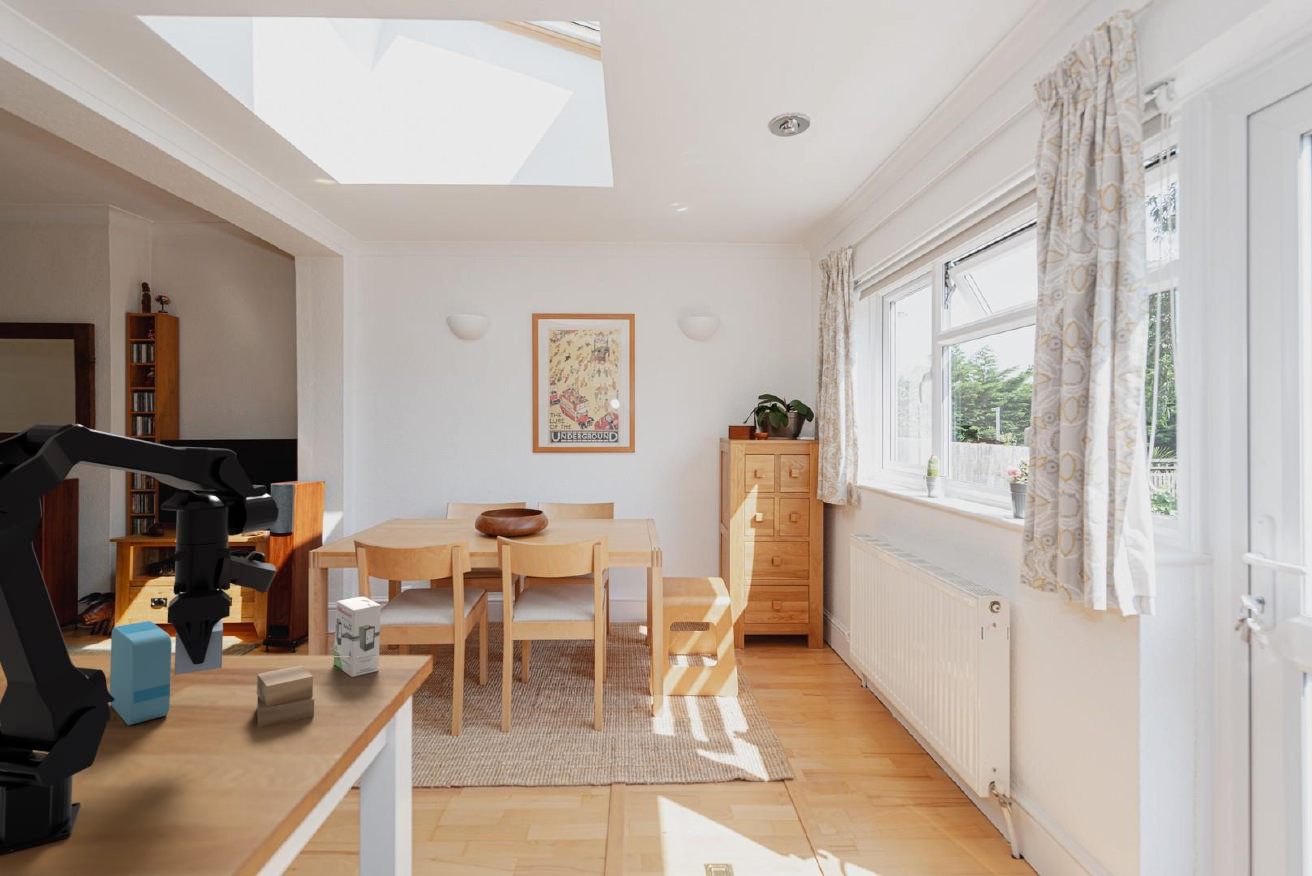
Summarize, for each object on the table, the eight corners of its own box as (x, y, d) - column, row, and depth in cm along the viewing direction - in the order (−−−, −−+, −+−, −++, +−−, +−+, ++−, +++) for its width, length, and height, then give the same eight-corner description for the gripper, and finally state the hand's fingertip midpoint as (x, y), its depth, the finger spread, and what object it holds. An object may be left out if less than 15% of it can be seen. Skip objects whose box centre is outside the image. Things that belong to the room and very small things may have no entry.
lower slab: (313, 719, 93) (314, 699, 93) (257, 730, 90) (258, 708, 90) (309, 702, 99) (310, 683, 99) (257, 711, 95) (257, 691, 95)
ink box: (332, 664, 114) (334, 599, 114) (360, 658, 118) (362, 595, 118) (351, 678, 108) (353, 609, 108) (380, 671, 112) (382, 604, 112)
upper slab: (312, 696, 94) (313, 676, 94) (266, 707, 90) (266, 686, 90) (301, 684, 99) (301, 665, 99) (256, 694, 94) (257, 674, 94)
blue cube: (221, 667, 84) (222, 630, 84) (174, 674, 81) (175, 636, 81) (221, 656, 88) (222, 620, 88) (176, 662, 85) (177, 625, 85)
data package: (169, 718, 91) (172, 635, 91) (129, 729, 88) (132, 643, 88) (146, 695, 99) (148, 618, 99) (108, 704, 95) (111, 624, 95)
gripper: (278, 548, 81) (274, 669, 81) (268, 528, 97) (265, 629, 97) (169, 555, 75) (165, 686, 75) (177, 532, 90) (174, 641, 90)
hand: (199, 657), depth 84 cm, fingers closed on blue cube, 5 cm apart
